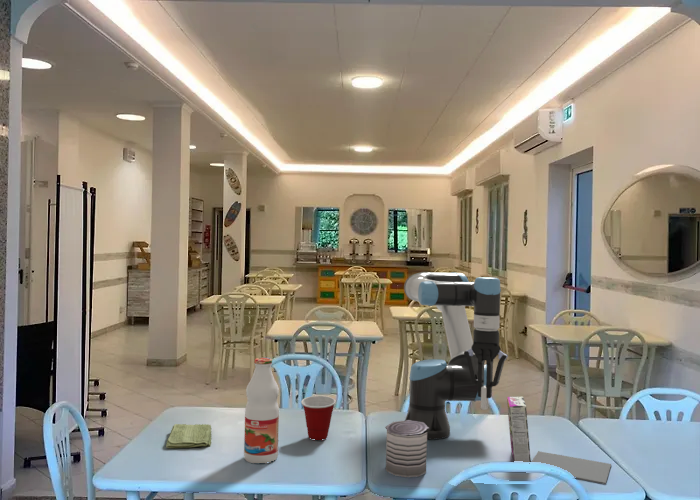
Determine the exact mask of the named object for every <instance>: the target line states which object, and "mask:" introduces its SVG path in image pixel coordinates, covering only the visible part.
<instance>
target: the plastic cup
mask: <svg viewBox="0 0 700 500" xmlns="http://www.w3.org/2000/svg"><path fill="white" fill-rule="evenodd" d="M336 402H337V401H336V399H335V398H333V397H332V396H328V395H311V396H308V397H305V398H302V400H301V401H300V403H301V405H302V408H303V411H304V416H305V424H306V429H307V436H308V438H311V439H315V440H321V441H323V440H322V439H325V440H327V439H326V438H328V436H329V430H330V427H331V420H332V415H333V411H334V408H335V407H334V406H335V404H336ZM311 439H310V440H311ZM315 440H314V441H315Z"/></svg>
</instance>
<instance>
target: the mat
mask: <svg viewBox="0 0 700 500" xmlns="http://www.w3.org/2000/svg"><path fill="white" fill-rule="evenodd" d="M531 462H541V463H546V464H550V465H554V466H557V467H560V468H562V469H564V470H567V471H568V472H570V473H571V474H572V475H573V476H574V477H576V478H577V479H576V480H582V481H587V482H590V483H591V482H592V483H597V484H600V485H601V484H602V485H606V484H607V480H608V477H609V473H610V471H611V467H612V463H609V462H608V463H606V462H602V461H596V460H590V459H585V458H579V457H574V456H568V455H562V454H556V453H551V452H546V451H540V450H538V451H537V452H536V454H535V455H534V457H533V459H531Z"/></svg>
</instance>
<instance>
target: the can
mask: <svg viewBox="0 0 700 500" xmlns="http://www.w3.org/2000/svg"><path fill="white" fill-rule="evenodd" d="M384 428H385V429H386V443H385V444H386V445H385V451H386V452H385V472H386V471H387V472H386V473H388V472H389V474H390V473H391V474H390V475H392V474H393V475H392V476H394V475H395V476H396V477H400V476H401V478H407V477H408V478H416V477H418V478H419V477H422V476H423V475H424V474H427V453H428V451H427V450H428V446H427V445H428V439H427V429H428V428H429V427H428V426H427V425H426V424H425V423H424V422H418V421H412V420H405V419H404V420H399V421H397V420H396V421H392V422H390V423H389V424H388V425H385V426H384Z"/></svg>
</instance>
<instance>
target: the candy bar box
mask: <svg viewBox="0 0 700 500" xmlns="http://www.w3.org/2000/svg"><path fill="white" fill-rule="evenodd" d="M506 400H507V401H506V402H507V404H506V405H507V415H508V427H509V429H508V430H509V437H510V450H511V455H512V459H513V462H514V461H523V462H531V461H532V459H531V449H530V438H529V437H530V436H529V426H528V423H529V422H528V413H527V404H526V402H525V398H524V396H507V397H506Z"/></svg>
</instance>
